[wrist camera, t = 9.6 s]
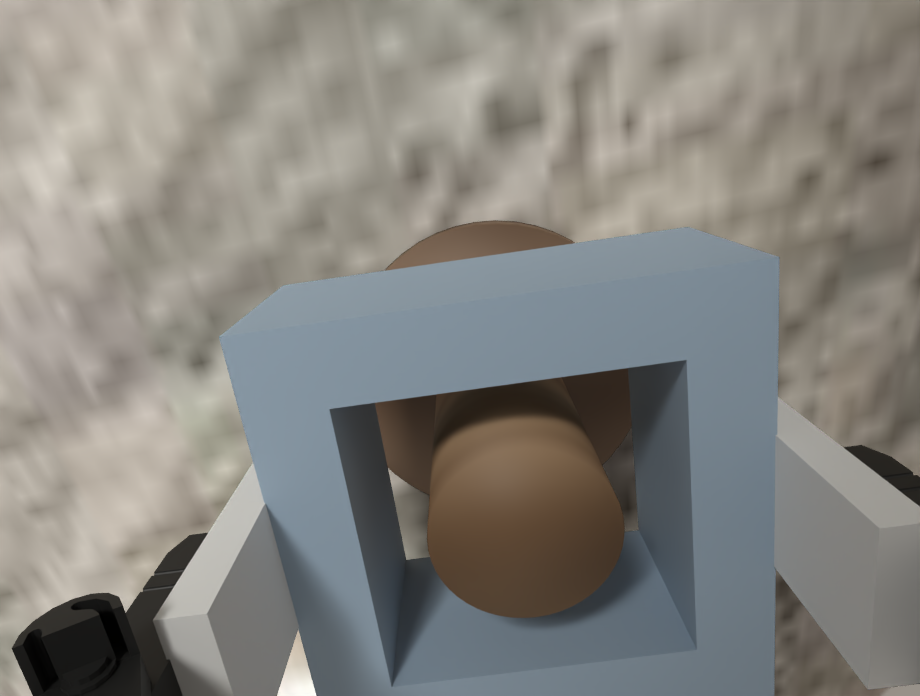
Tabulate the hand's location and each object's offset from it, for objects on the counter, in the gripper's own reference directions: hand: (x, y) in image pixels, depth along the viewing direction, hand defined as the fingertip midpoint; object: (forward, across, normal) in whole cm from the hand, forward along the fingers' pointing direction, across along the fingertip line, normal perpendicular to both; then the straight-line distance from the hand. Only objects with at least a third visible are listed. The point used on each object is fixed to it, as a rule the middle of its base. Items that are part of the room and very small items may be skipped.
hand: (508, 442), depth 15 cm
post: (+5, 0, 0) cm, 5 cm away
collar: (0, 0, 0) cm, 0 cm away
